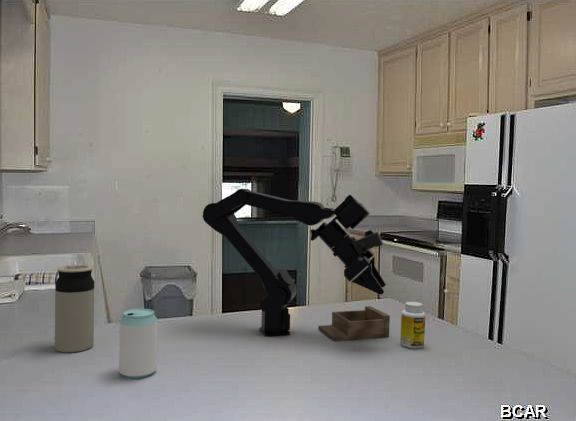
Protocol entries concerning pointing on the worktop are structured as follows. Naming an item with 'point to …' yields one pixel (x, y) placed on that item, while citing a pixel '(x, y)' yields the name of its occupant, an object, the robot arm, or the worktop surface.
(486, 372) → the worktop surface
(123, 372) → the can
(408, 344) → the supplement bottle
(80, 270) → the travel mug
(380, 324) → the open wooden box
